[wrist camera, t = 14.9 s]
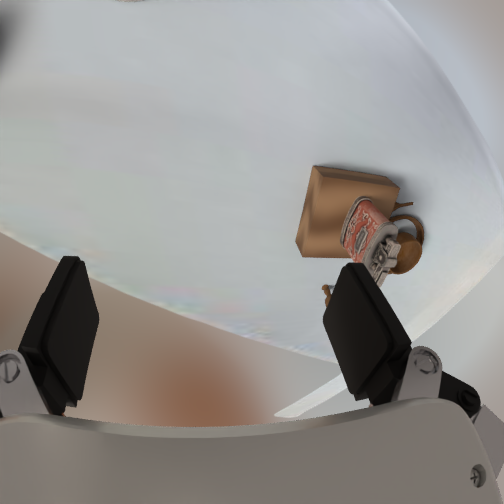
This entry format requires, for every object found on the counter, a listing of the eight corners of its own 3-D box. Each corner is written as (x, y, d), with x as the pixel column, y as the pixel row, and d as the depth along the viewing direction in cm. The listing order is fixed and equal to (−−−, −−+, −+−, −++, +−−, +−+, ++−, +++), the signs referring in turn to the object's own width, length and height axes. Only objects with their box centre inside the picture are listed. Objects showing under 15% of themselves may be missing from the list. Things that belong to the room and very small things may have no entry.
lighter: (354, 193, 37) (392, 235, 29) (374, 197, 37) (414, 238, 29) (335, 245, 41) (363, 293, 33) (355, 247, 42) (385, 293, 34)
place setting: (408, 274, 54) (423, 293, 49) (316, 294, 53) (326, 318, 48) (426, 195, 44) (447, 212, 39) (319, 208, 43) (334, 229, 38)
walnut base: (312, 165, 38) (323, 176, 35) (386, 177, 40) (400, 188, 37) (295, 241, 45) (302, 257, 42) (363, 244, 47) (373, 258, 44)
